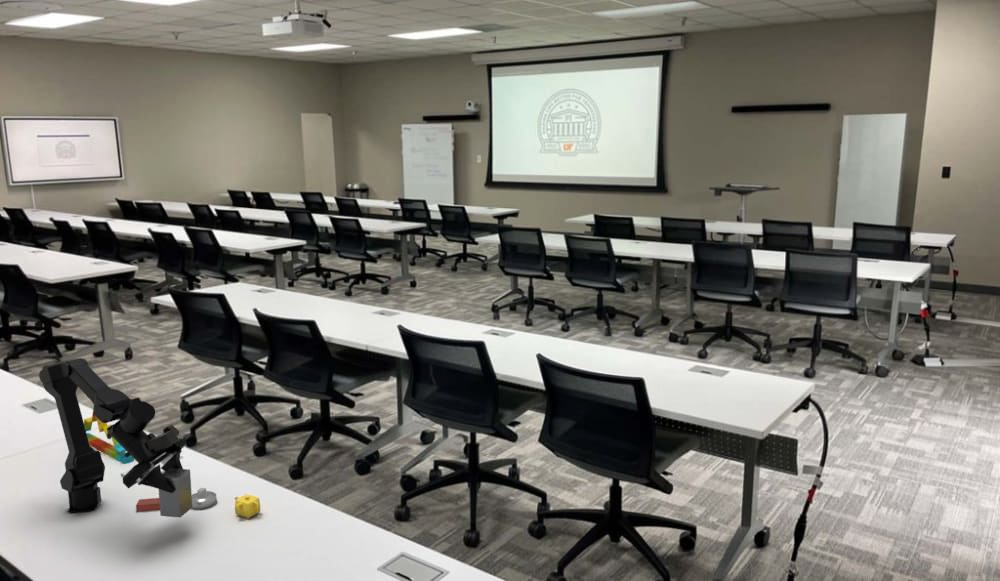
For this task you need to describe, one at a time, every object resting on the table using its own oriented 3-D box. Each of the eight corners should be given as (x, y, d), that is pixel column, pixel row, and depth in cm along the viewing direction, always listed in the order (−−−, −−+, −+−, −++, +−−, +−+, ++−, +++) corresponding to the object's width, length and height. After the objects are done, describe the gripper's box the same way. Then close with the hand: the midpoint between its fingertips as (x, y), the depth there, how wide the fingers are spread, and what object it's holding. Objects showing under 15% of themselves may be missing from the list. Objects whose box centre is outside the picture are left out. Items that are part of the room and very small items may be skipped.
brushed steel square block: (160, 515, 176) (157, 476, 174) (172, 505, 181) (170, 468, 179) (180, 517, 175) (178, 478, 173) (192, 507, 180) (190, 469, 178)
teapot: (225, 516, 188) (224, 498, 187) (242, 507, 193) (241, 489, 192) (248, 524, 185) (247, 505, 184) (265, 514, 190) (264, 495, 189)
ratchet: (134, 515, 188) (133, 500, 188) (141, 503, 195) (140, 488, 194) (214, 508, 192) (213, 494, 192) (218, 497, 199) (217, 482, 198)
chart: (135, 461, 222) (131, 414, 220) (124, 464, 220) (120, 417, 217) (90, 438, 241) (86, 394, 238) (79, 441, 238) (75, 397, 236)
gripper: (130, 433, 165) (179, 482, 166) (177, 406, 184) (220, 451, 184) (101, 464, 168) (149, 512, 168) (150, 434, 186) (193, 478, 186)
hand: (180, 486), depth 177 cm, fingers closed on brushed steel square block, 5 cm apart
